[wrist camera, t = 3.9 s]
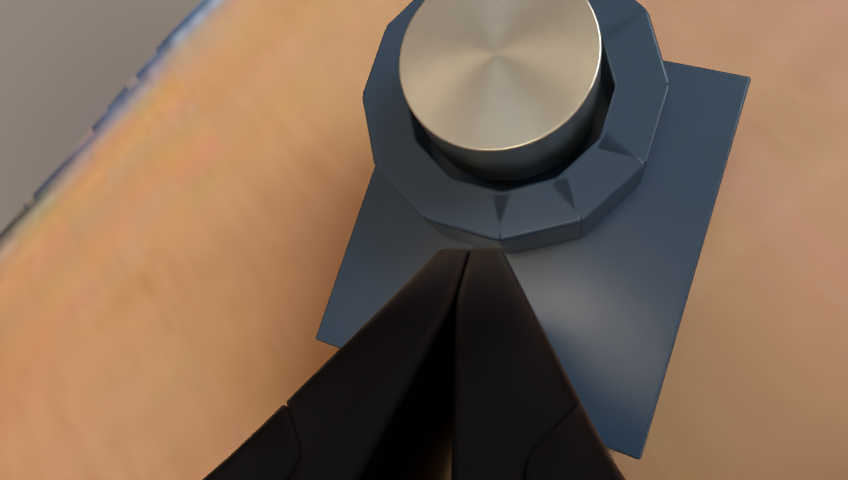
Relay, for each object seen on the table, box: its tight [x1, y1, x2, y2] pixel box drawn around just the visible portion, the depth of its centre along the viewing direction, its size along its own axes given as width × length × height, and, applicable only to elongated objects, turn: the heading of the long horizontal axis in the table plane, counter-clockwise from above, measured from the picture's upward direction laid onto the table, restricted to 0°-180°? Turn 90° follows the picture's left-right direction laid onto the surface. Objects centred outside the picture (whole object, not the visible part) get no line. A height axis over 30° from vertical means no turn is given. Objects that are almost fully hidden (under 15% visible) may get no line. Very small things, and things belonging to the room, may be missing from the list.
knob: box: [399, 0, 602, 181], centre depth 15 cm, size 4×4×2 cm
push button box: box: [316, 0, 751, 459], centre depth 18 cm, size 11×9×6 cm
